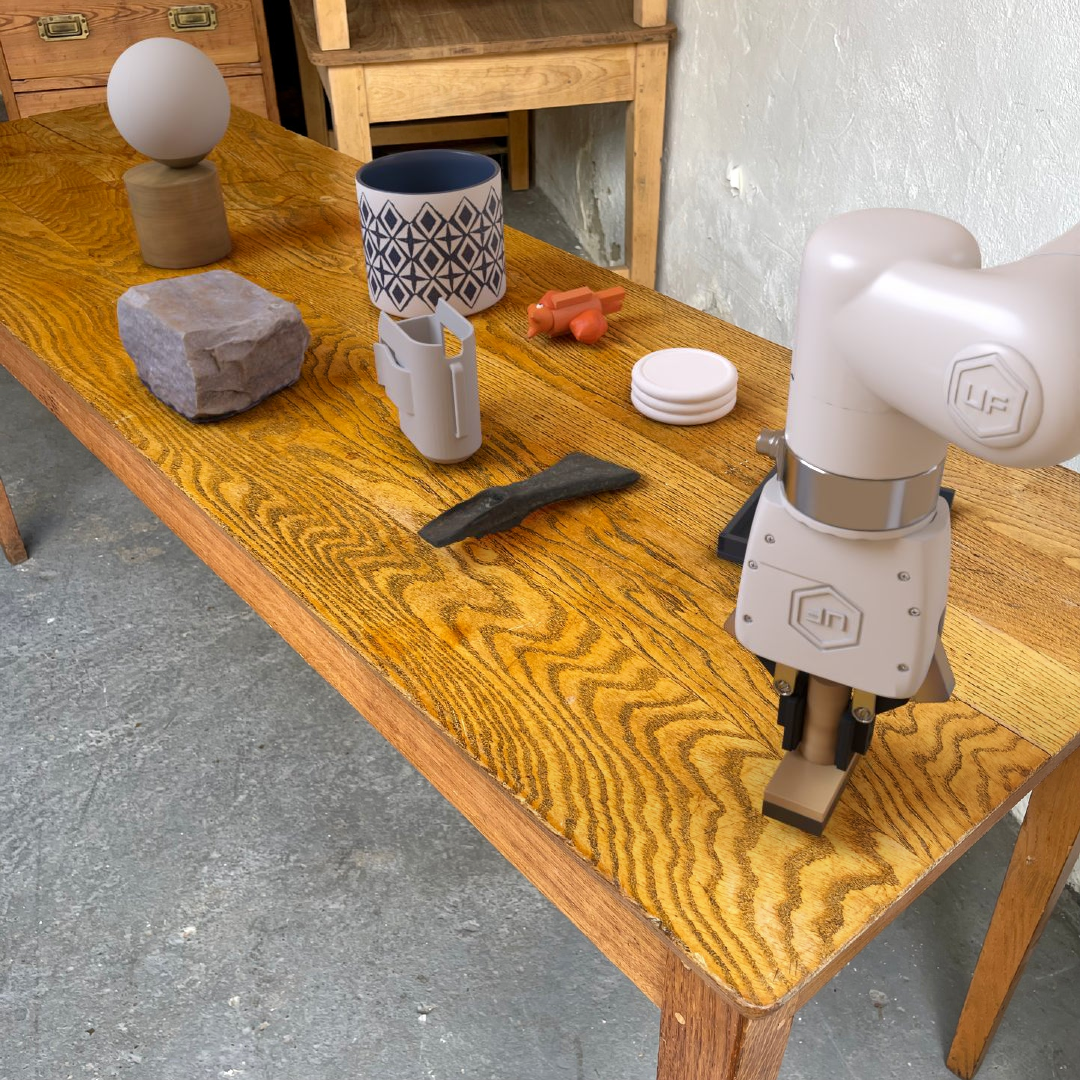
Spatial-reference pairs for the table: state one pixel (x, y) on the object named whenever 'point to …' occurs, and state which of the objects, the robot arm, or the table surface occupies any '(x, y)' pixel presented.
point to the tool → (525, 498)
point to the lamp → (173, 150)
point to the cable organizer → (432, 382)
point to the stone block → (211, 342)
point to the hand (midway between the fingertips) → (822, 743)
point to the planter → (432, 231)
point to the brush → (812, 763)
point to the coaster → (684, 386)
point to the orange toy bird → (574, 313)
